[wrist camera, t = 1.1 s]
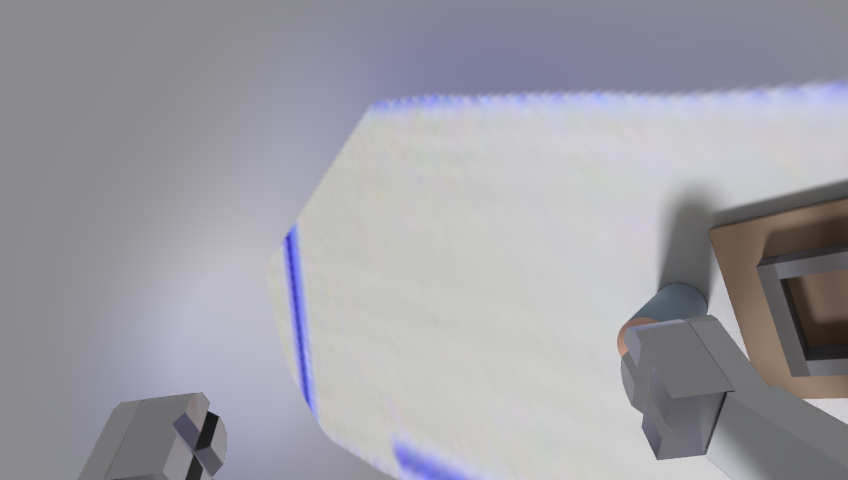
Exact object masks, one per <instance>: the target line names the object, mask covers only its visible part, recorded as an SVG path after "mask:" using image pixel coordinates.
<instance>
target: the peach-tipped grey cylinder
mask: <svg viewBox="0 0 848 480" xmlns="http://www.w3.org/2000/svg"><path fill="white" fill-rule="evenodd" d="M706 314H707V304H706V301H705V299H704V297H703V296H702V294H701V293H700V292H699V291H698V290H696V289H695V288H693V287H691V286H689V285H686V284H682V283H674V284H670V285H667V286H665V287H664V288H662V289H661V290H660V291H659V292H658V293H657V294H656V295H655V296H654V297H653V298H652V299H651V300H650V301H649V302H648V303H646V304H645V305H644V306H643V307H642V308H641V309H640V310H639V311H638V312H637V313H636V314H635V315H634V316H633V317H632V318H631V319H630V320H629V321H628V322H627V323H626V324H625V325H624V326H623V327H622V328H621V330H620V332H619V335H618V339H617V346H618V351H619V353H620V355H621V357H622V356H623V355H624V354H625V353H626V352H627V351H628V349H627V347H626V345H625V343H624V336H625V331H626V330H627V328H628V327H633V326H640V325H646V324H652V323H658V322H664V321H670V320H676V319H681V320H682V319H686V318H693V317H700V316H706Z"/></svg>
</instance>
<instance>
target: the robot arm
mask: <svg viewBox="0 0 848 480" xmlns="http://www.w3.org/2000/svg"><path fill="white" fill-rule="evenodd" d="M624 343H625V345H626V347H627V349H628V351H627V352H626V353H625V354H624V355H623V356H622V359H621V374H622V381H623V385H624V388H625V391H626V394H627V396H628V399H629V401H630V403H631V405H632V406H633V407H634V408H636V409H637V410H639V411H640V412H641V413H643V414H644V415H643V421H642V429H643V431H644V433H645V435H646V438H647V440H648V442H649V444H650V446H651V448H652V450H653V452H654V455H655V457H656V459H657V460H663V459H672V458H681V457H690V456H699V455H706V456H705V458H707V459H708V460H709V461H710V462H711V463H713V464H714V465H715V466H716V467H717V468H719V469H720V470H721V471H722V472H723V473H725V474H726V475H727V476H728V477H729V478H731V479H732V480H848V425H847V424H846V423H844V422H842V421H840V420H838V419H837V418H835V417H833V416H831V415H829V414H828V413H826V412H824V411H822V410H820V409H819V408H817V407H815V406H813V405H811V404H810V403H808V402H806V401H804V400H802V399H801V398H799V397H797V396H795V395H793V394H792V393H790V392H788V391H786V390H784V389H783V388H781V387H779V386H769V387H768V385H767V384H766V383H765V381H764V380H763V379H762V377H761V376H760V375H759V373H758V372H757V371H756V369H755V368H754V367H753V365H752V364H751V363H750V361H749V360H748V359H747V358H746V356H745V355H744V354H743V352H742V351H741V350H740V348H739V347H738V346H737V344H736V343H735V342H734V340H733V339H732V338H731V336H730V335H729V334H728V332H727V331H726V330H725V328H724V327H723V326H722V324H721V323H720V322H719V320H718V319H717V318H715V317H714V316H712V315H706V316H700V317H693V318H686V319H682V320H681V319H676V320H670V321H664V322H658V323H652V324H646V325H640V326H633V327H628V328H627V330H626V331H625V336H624ZM209 405H210V402H209V401H208V399H207V398H206V396H205V395H204V394H203V393H202V392H201V393H191V394H183V395H175V396H167V397H158V398H150V399H144V400H136V401H129V402H122V403H120V404H119V405H118V406H117V407H116V408H115V409H114V410H113V411H112V413H111V415H110V417H109V419H108V421H107V423H106V425H105V427H104V429H103V431H102V433H101V435H100V437H99V439H98V441H97V443H96V445H95V447H94V449H93V451H92V453H91V455H90V457H89V458H88V460H87V462H86V464H85V466H84V468H83V470H82V472H81V474H80V476H79V478H78V480H214V479H213V476H214V474H215V473H216V472H217V471H218V470H219V469H220V468H221V466H222V465H223V464H224V460H225V456H226V452H227V432H226V429H225V426H224V423H223V421H222V420H221V418H220V417H219V416H217V415H215V414H213V413H211V412H209V411H208V407H209Z"/></svg>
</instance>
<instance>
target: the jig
mask: <svg viewBox="0 0 848 480" xmlns="http://www.w3.org/2000/svg"><path fill="white" fill-rule="evenodd" d="M708 233H709V236H710V239H711V242H712V245H713V248H714V251H715V255H716V258H717V261H718V264H719V267H720V270H721V273H722V276H723V279H724V282H725V285H726V288H727V291H728V295H729V298H730V301H731V304H732V307H733V310H734V313H735V316H736V319H737V322H738V325H739V328H740V331H741V335H742V338H743V341H744V344H745V347H746V350H747V353H748V356H749V359H750V362H751V364H752V365H753V367H754V368H755V369H756V371H757V372H758V373H759V375H760V376H761V377H762V379H763V380H764V381H765V383H766V384H767V385H768V387H769V386H779V387H781V388H783V389H784V390H786V391H788V392H790V393H792V394H793V395H795V396H797V397H799V398H801V399H822V398H848V197H844V198H840V199H835V200H831V201H826V202H822V203H818V204H813V205H809V206H804V207H800V208H796V209H791V210H787V211H782V212H778V213H774V214H769V215H765V216H760V217H756V218H752V219H747V220H743V221H738V222H734V223H730V224H725V225H721V226H716V227H712V228H711V229H709V230H708Z"/></svg>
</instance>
